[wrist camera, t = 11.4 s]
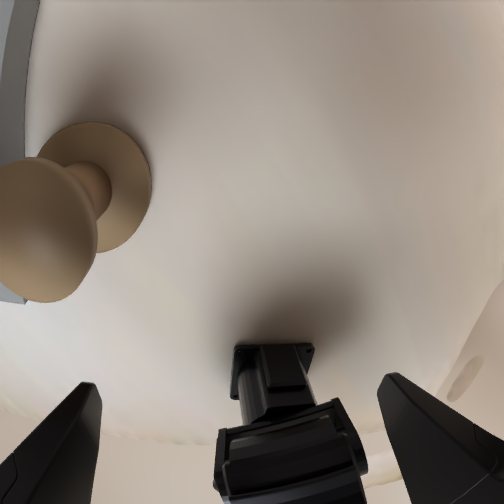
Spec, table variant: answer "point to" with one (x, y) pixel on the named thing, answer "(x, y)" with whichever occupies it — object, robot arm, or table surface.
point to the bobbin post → (69, 208)
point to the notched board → (14, 87)
